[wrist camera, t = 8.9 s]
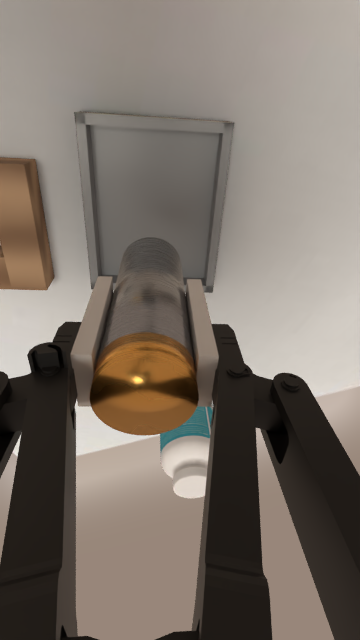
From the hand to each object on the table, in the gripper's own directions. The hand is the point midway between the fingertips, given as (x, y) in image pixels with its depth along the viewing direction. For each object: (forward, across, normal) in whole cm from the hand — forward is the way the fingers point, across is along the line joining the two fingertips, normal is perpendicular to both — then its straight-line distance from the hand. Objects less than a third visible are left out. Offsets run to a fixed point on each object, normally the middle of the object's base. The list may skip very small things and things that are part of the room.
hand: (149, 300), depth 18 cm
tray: (+18, 0, 0) cm, 18 cm away
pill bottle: (+19, +5, -27) cm, 33 cm away
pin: (+5, 0, 0) cm, 5 cm away
